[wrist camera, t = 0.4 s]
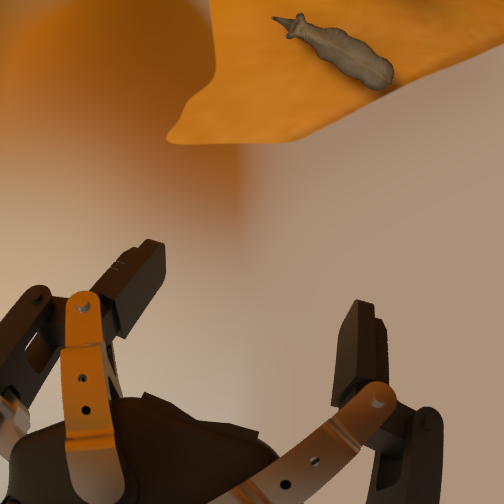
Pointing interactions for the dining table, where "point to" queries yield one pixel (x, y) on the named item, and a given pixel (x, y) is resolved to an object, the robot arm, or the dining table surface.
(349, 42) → the rhino figurine
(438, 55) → the dining table surface
